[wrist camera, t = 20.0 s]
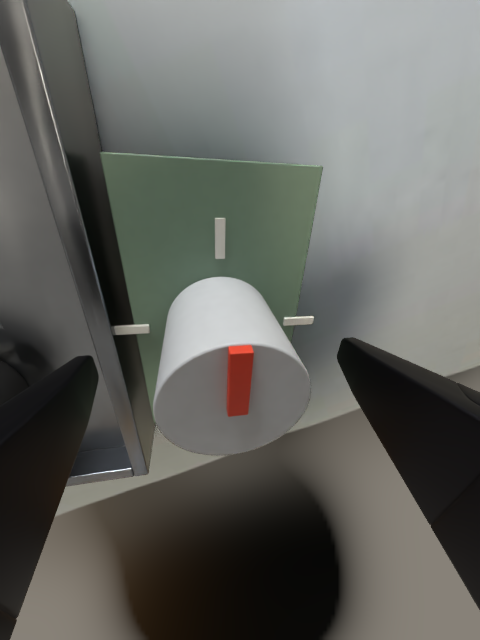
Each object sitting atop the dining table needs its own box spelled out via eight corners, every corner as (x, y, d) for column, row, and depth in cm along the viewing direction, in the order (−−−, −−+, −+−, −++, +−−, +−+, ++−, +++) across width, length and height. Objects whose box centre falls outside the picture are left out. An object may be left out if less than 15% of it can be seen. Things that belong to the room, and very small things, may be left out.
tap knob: (264, 360, 12) (301, 454, 8) (172, 367, 11) (161, 475, 7) (274, 275, 10) (333, 344, 6) (160, 277, 9) (137, 359, 5)
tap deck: (146, 384, 15) (137, 428, 13) (100, 156, 9) (65, 148, 7) (277, 372, 17) (293, 410, 14) (309, 169, 11) (348, 167, 8)
